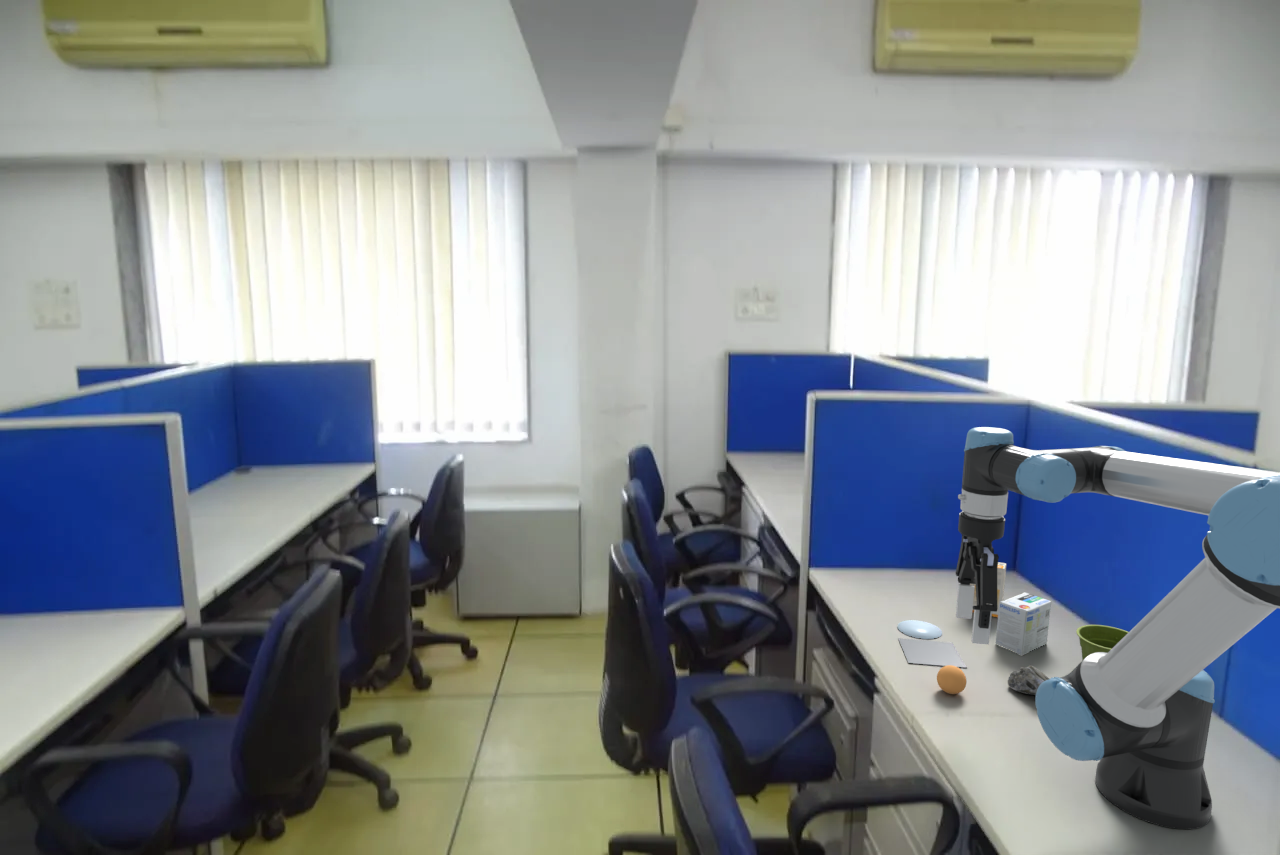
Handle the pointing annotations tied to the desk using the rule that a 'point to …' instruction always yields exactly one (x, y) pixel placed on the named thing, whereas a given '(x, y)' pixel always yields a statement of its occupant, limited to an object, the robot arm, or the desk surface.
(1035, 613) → the light bulb box
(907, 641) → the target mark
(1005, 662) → the desk surface
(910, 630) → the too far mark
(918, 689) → the desk surface
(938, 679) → the ball
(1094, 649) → the plant pot
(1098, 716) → the robot arm
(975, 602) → the supplement box
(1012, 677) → the fossilized seashell
